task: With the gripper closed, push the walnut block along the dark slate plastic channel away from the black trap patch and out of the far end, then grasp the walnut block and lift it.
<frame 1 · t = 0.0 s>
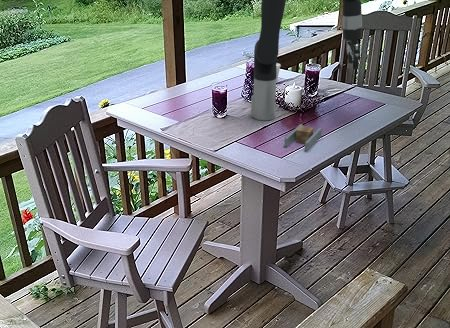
hand: (353, 66, 211), 22 cm above the table, tool pointing down, fingers open, 8 cm apart
smoothie: (273, 83, 262), on the table
channel: (303, 141, 198), on the table
block: (304, 140, 199), on the table
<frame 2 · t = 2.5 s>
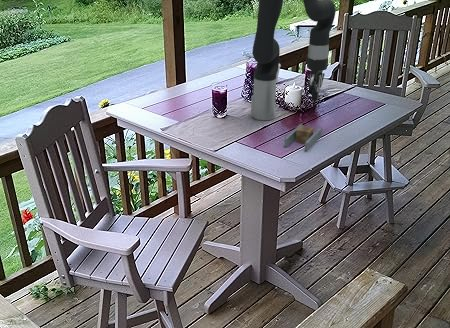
hand: (314, 100, 199), 14 cm above the table, tool pointing down, fingers closed
nothing on the table moved.
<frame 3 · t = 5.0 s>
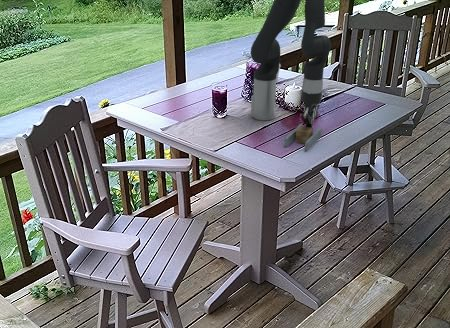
hand: (308, 131, 201), 2 cm above the table, tool pointing down, fingers closed
block: (303, 140, 198), on the table, touching gripper
everything else where it was.
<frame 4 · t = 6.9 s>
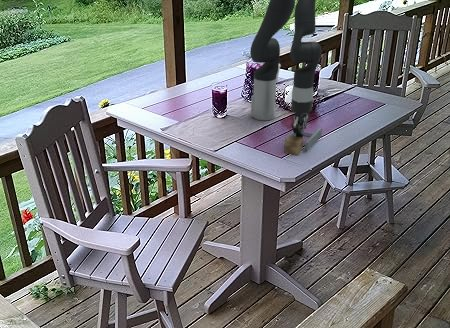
hand: (298, 141, 192), 2 cm above the table, tool pointing down, fingers closed
block: (293, 151, 190), on the table, touching gripper
everything else where it was.
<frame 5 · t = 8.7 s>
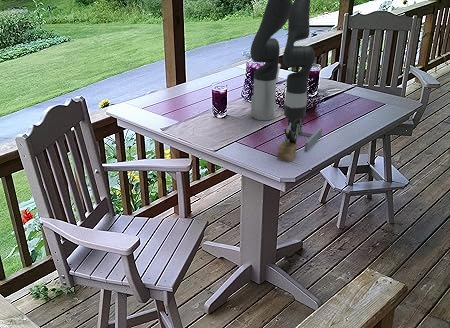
hand: (292, 148, 188), 2 cm above the table, tool pointing down, fingers closed
block: (286, 157, 185), on the table, touching gripper
everything else where it was.
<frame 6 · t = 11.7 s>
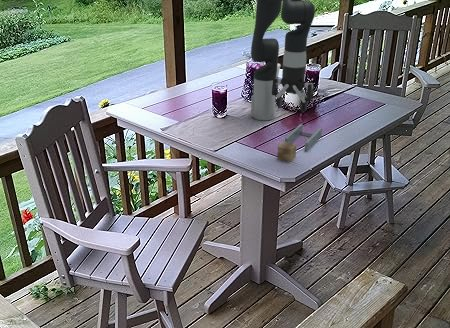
hand: (291, 109, 177), 18 cm above the table, tool pointing down, fingers open, 8 cm apart
block: (286, 158, 185), on the table
everything else where it was.
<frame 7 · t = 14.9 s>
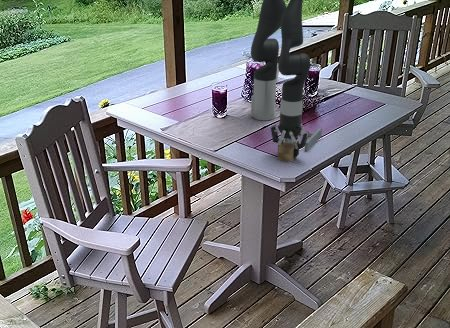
hand: (288, 155, 185), 1 cm above the table, tool pointing down, fingers closed on block, 5 cm apart
block: (286, 158, 185), on the table, touching gripper
everything else where it was.
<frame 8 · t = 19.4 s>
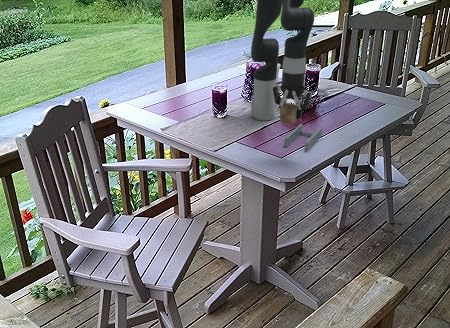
hand: (290, 117, 179), 15 cm above the table, tool pointing down, fingers closed on block, 5 cm apart
block: (289, 120, 178), point 15 cm above the table, touching gripper
everything else where it was.
at the end: block inside the target area (0.5 cm from its centre), point 14.6 cm above the table; the gripper is holding block; block tilted 0° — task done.
